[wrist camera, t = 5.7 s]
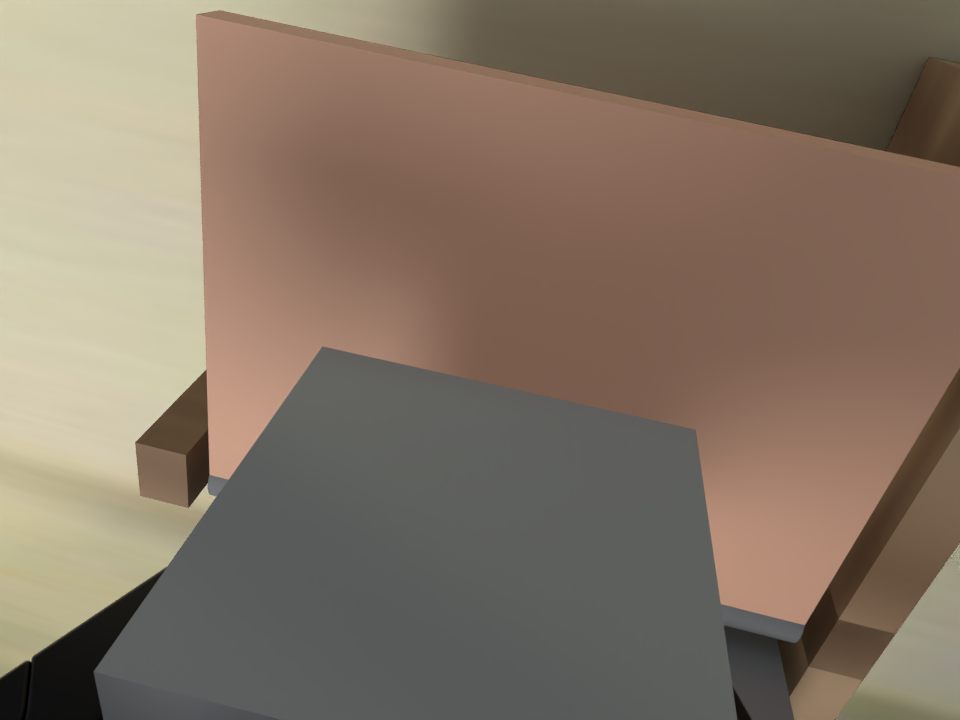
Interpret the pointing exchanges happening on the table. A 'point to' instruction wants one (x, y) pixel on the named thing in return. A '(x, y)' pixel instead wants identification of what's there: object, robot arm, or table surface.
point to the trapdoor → (585, 281)
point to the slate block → (437, 566)
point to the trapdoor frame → (877, 550)
